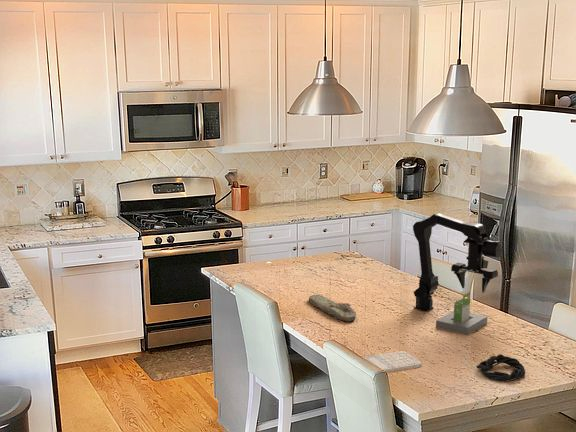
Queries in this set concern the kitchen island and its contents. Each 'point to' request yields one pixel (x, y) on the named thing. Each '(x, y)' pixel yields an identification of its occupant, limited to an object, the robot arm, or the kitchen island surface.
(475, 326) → the pocket plate
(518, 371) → the cable
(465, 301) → the ink box
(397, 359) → the calculator
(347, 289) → the kitchen island surface
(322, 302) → the long grey stone
